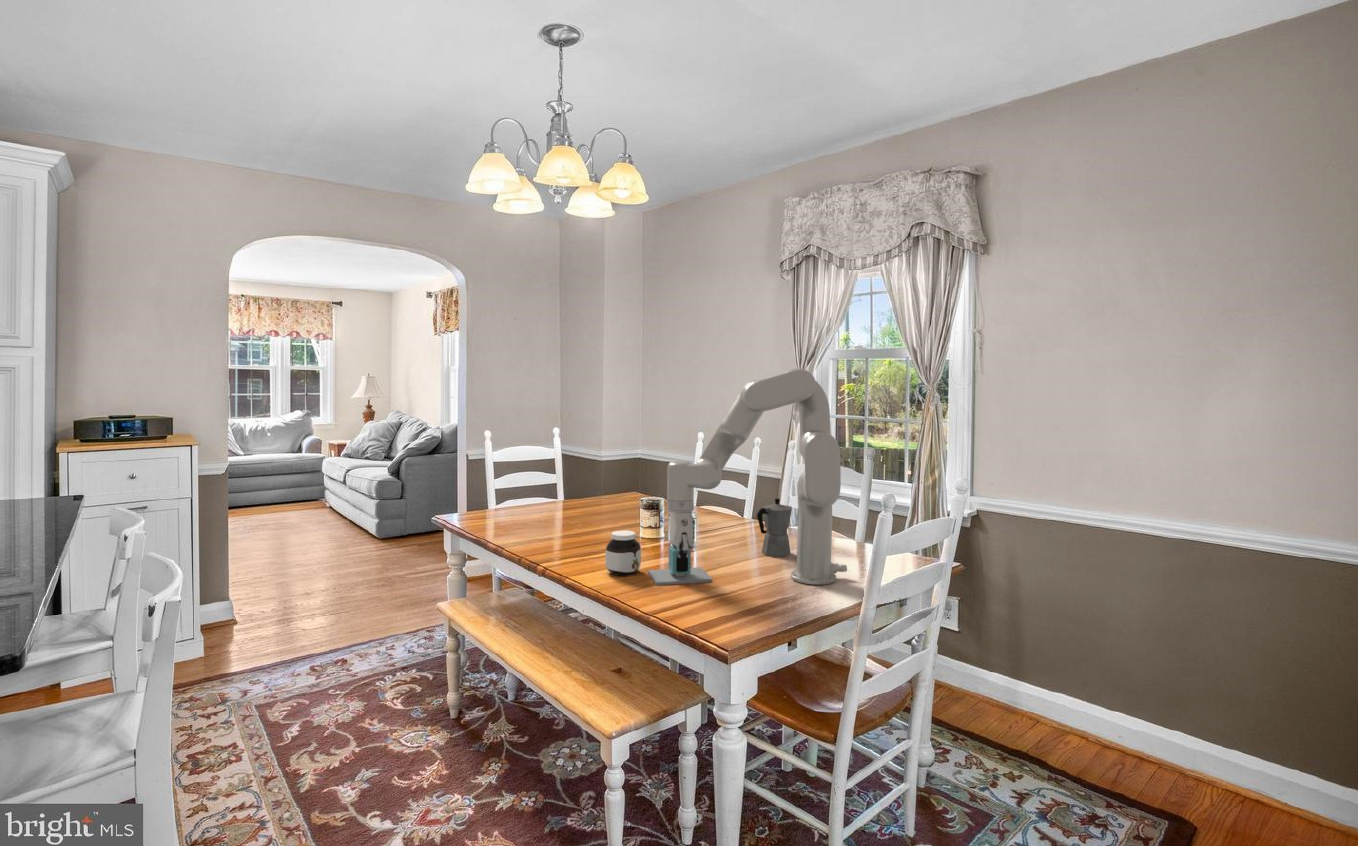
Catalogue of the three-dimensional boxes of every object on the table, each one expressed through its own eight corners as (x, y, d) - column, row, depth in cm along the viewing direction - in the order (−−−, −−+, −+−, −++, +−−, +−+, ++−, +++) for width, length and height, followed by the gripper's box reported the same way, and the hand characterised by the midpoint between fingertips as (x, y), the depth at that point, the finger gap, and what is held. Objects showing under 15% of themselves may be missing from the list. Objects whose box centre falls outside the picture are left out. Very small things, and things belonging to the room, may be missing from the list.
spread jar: (619, 578, 197) (619, 538, 197) (593, 570, 205) (593, 531, 204) (649, 570, 206) (649, 531, 205) (623, 563, 214) (623, 525, 213)
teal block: (686, 568, 202) (686, 545, 202) (690, 573, 197) (690, 550, 197) (668, 569, 201) (668, 546, 201) (672, 574, 196) (672, 551, 196)
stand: (700, 569, 207) (701, 550, 207) (712, 581, 196) (712, 561, 195) (647, 572, 203) (647, 553, 203) (656, 585, 192) (656, 564, 191)
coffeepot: (779, 547, 235) (780, 494, 234) (800, 553, 228) (802, 498, 226) (746, 554, 225) (747, 499, 224) (767, 561, 218) (769, 503, 217)
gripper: (701, 510, 191) (700, 576, 192) (685, 499, 207) (685, 560, 208) (674, 511, 189) (673, 577, 190) (660, 500, 205) (660, 561, 207)
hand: (679, 567), depth 199 cm, fingers closed on teal block, 5 cm apart
